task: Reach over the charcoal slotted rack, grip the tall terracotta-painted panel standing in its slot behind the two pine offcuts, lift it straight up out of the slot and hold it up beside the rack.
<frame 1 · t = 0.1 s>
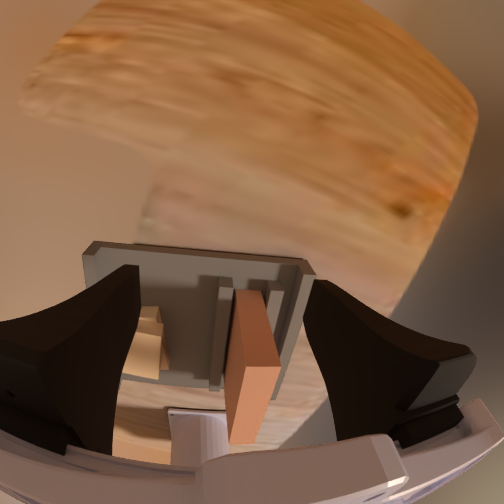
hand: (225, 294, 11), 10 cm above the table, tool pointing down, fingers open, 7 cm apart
rack: (194, 327, 24), on the table
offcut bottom: (142, 334, 23), point 1 cm above the table, touching offcut top, rack
panel: (239, 337, 24), point 1 cm above the table, touching rack
offcut top: (140, 343, 21), point 2 cm above the table, touching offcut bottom
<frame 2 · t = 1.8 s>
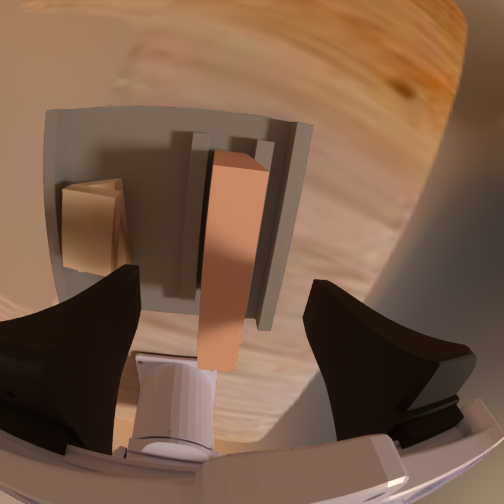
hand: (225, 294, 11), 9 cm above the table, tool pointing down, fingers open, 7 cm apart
rack: (164, 216, 19), on the table
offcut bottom: (101, 223, 18), point 1 cm above the table, touching offcut top, rack
panel: (221, 225, 19), point 1 cm above the table, touching rack
offcut top: (94, 226, 16), point 2 cm above the table, touching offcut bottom
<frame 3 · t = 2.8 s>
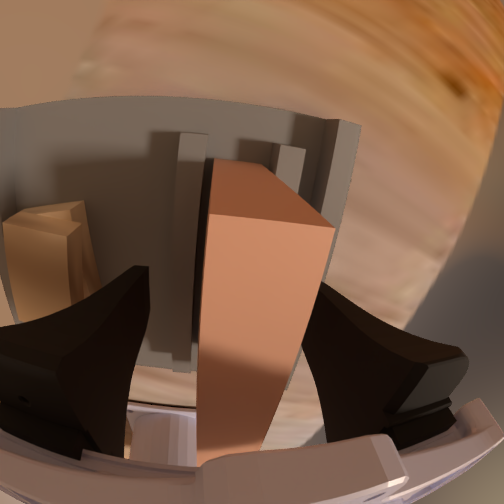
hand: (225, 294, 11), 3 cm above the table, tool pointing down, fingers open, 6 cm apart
rack: (145, 250, 14), on the table
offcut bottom: (63, 260, 12), point 1 cm above the table, touching offcut top, rack
panel: (223, 266, 13), point 1 cm above the table, touching rack
offcut top: (51, 268, 11), point 2 cm above the table, touching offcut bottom
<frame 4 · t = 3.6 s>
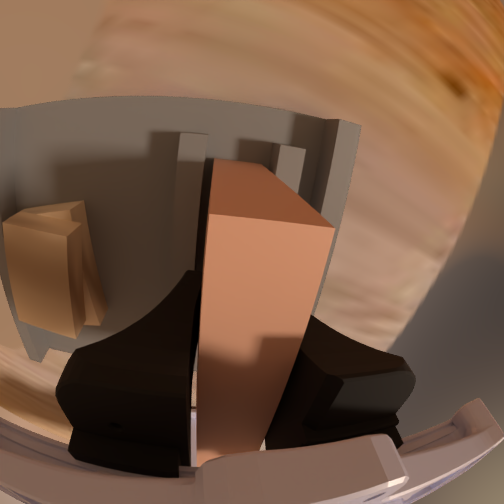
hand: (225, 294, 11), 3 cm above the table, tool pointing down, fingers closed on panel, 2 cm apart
rack: (145, 250, 14), on the table
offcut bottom: (63, 260, 12), point 1 cm above the table, touching offcut top, rack
panel: (223, 266, 13), point 1 cm above the table, touching gripper, rack
offcut top: (51, 268, 11), point 2 cm above the table, touching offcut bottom
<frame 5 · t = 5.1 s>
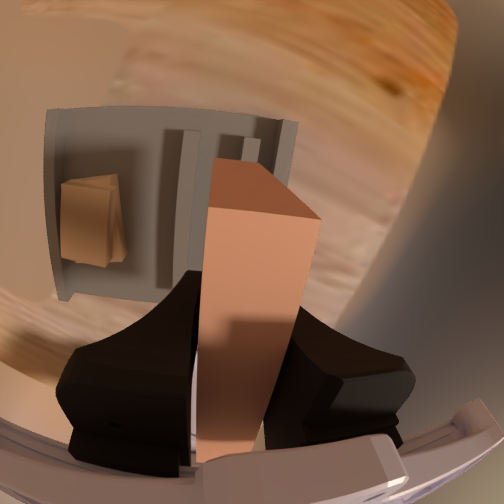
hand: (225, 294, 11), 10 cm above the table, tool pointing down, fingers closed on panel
rack: (157, 210, 20), on the table
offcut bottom: (98, 216, 18), point 1 cm above the table, touching offcut top, rack
panel: (223, 262, 14), point 7 cm above the table, touching gripper
offcut top: (91, 219, 17), point 2 cm above the table, touching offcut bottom
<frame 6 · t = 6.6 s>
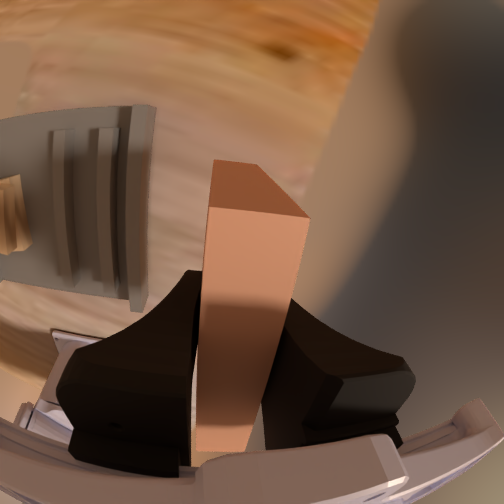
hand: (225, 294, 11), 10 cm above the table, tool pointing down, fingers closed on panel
rack: (53, 204, 18), on the table
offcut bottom: (10, 212, 17), point 1 cm above the table, touching offcut top, rack
panel: (222, 259, 15), point 7 cm above the table, touching gripper
offcut top: (0, 214, 15), point 2 cm above the table, touching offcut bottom
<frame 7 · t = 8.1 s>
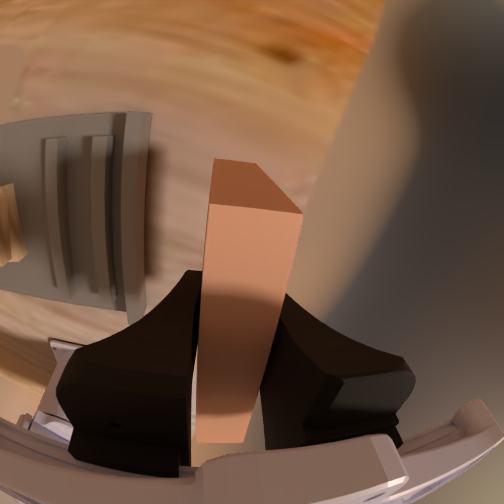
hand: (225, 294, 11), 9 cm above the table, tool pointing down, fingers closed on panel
rack: (47, 213, 18), on the table
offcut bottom: (4, 221, 16), point 1 cm above the table, touching offcut top, rack
panel: (222, 255, 15), point 5 cm above the table, touching gripper
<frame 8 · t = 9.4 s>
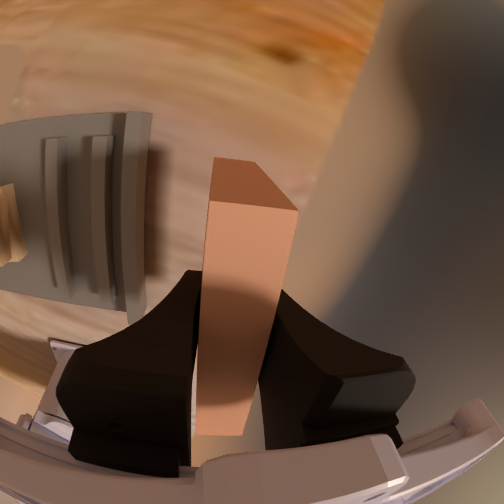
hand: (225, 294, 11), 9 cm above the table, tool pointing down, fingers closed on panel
rack: (47, 213, 18), on the table
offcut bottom: (4, 221, 16), point 1 cm above the table, touching offcut top, rack
panel: (222, 251, 15), point 5 cm above the table, touching gripper
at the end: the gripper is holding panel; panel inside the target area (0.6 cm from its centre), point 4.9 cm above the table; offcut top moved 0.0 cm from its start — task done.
